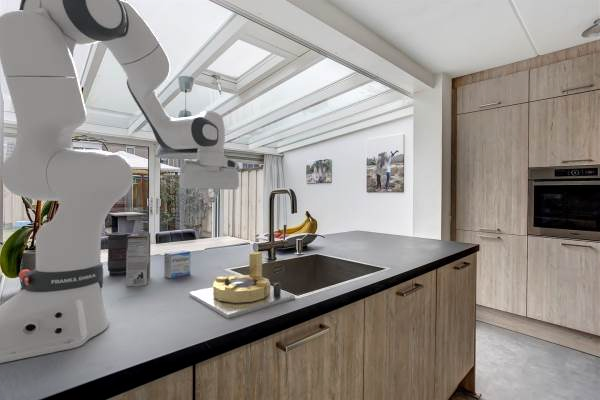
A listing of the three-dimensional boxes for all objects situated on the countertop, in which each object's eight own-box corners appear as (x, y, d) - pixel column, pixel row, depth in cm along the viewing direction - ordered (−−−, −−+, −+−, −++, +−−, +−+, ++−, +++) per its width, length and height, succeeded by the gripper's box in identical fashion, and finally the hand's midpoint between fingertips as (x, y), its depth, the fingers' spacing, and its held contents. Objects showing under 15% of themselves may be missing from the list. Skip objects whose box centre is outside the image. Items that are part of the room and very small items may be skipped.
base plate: (227, 318, 74) (227, 300, 74) (189, 295, 90) (189, 280, 90) (294, 298, 89) (295, 283, 89) (251, 281, 105) (251, 268, 105)
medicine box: (170, 279, 107) (170, 254, 107) (163, 276, 110) (164, 252, 109) (190, 274, 113) (190, 251, 113) (183, 272, 116) (184, 249, 116)
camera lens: (137, 271, 116) (138, 232, 115) (123, 277, 108) (123, 235, 107) (117, 271, 116) (118, 231, 116) (101, 276, 108) (102, 234, 108)
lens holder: (232, 306, 78) (232, 267, 78) (203, 291, 90) (203, 257, 90) (287, 291, 91) (287, 258, 91) (256, 280, 103) (256, 250, 102)
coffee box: (130, 279, 106) (130, 232, 105) (150, 277, 108) (151, 232, 108) (125, 287, 97) (125, 236, 97) (147, 285, 99) (148, 235, 99)
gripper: (184, 158, 94) (183, 203, 94) (241, 163, 108) (241, 202, 108) (176, 159, 98) (175, 202, 99) (232, 164, 112) (231, 202, 113)
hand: (210, 202), depth 103 cm, fingers closed
